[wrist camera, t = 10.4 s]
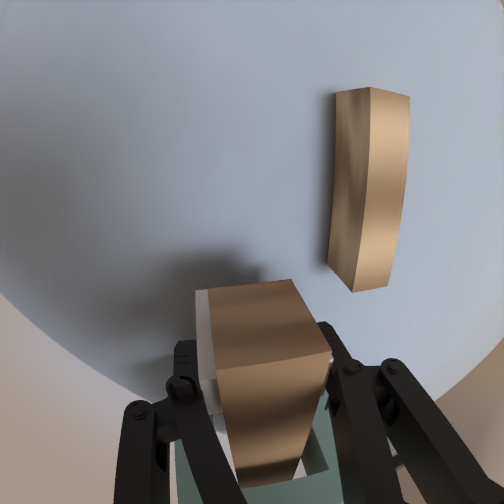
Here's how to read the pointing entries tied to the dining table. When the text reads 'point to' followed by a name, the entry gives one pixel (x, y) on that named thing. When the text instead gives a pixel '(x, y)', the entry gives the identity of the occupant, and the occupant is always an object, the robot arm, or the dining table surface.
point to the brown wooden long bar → (266, 376)
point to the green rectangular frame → (288, 492)
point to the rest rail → (368, 185)
